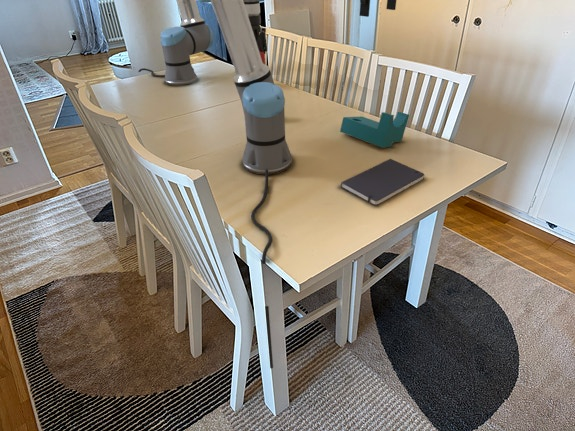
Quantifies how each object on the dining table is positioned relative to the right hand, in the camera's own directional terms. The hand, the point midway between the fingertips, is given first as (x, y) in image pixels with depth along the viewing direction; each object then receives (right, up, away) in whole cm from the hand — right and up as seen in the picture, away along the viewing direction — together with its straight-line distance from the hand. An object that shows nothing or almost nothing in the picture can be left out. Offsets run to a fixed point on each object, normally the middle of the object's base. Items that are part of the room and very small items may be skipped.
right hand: (377, 12), depth 119 cm
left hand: (-41, +6, +64) cm, 76 cm away
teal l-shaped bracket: (+3, -33, +21) cm, 39 cm away
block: (-41, +3, +65) cm, 77 cm away
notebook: (+1, -51, -4) cm, 51 cm away
